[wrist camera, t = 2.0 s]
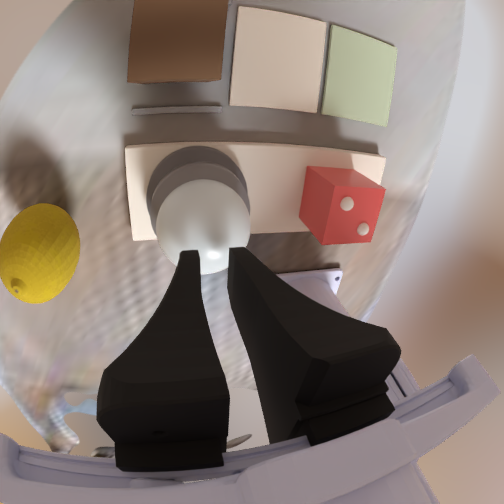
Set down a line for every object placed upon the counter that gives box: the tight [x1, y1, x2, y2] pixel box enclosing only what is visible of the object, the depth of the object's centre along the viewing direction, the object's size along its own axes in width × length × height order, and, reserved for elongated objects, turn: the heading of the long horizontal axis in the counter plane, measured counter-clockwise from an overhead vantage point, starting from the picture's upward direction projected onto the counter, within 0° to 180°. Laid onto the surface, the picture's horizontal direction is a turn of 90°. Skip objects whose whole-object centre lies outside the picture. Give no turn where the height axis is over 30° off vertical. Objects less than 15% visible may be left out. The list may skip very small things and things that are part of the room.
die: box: [299, 166, 386, 245], centre depth 19 cm, size 4×4×4 cm
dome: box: [150, 161, 251, 274], centre depth 14 cm, size 6×6×5 cm
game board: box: [125, 0, 397, 241], centre depth 17 cm, size 16×19×2 cm
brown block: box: [127, 0, 229, 84], centre depth 11 cm, size 4×4×6 cm
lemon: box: [0, 203, 80, 303], centre depth 14 cm, size 6×6×8 cm
